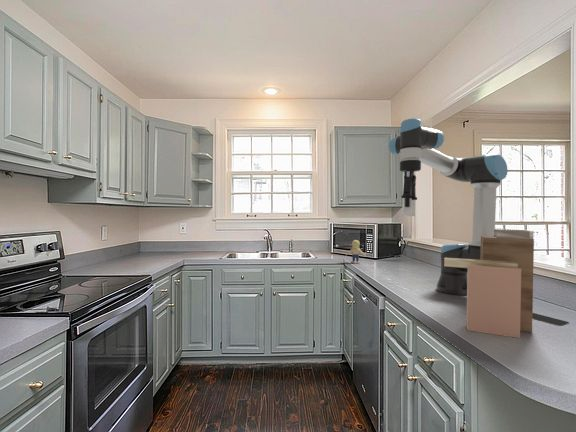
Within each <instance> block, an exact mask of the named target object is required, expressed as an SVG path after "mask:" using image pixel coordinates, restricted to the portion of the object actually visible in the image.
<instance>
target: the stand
mask: <svg viewBox="0 0 576 432" xmlns="http://www.w3.org/2000/svg"><path fill="white" fill-rule="evenodd" d="M534 246H535V239H534V230H531V229H529V230H528V229H502V228H501V229H500V228H499V229H498V228H495V229H494V236H481V250H480V260H490V261H505V262H516V263H517V264H518V269H521V311H520V332H521V331H522V332H523V331H524V332H530V333H533V319H532V313H534V312H533V309H534V306H533V301H534V299H533V297H534V295H533V294H534V257H535V256H534V253H535V250H534V248H535V247H534Z"/></svg>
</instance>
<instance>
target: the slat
mask: <svg viewBox="0 0 576 432" xmlns="http://www.w3.org/2000/svg"><path fill="white" fill-rule="evenodd" d="M469 265H477V266H491V267H504V268H518V264H517V263H516V262H505V261H490V260H475V259H460V258H444V266H448V267H460V268H469Z"/></svg>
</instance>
